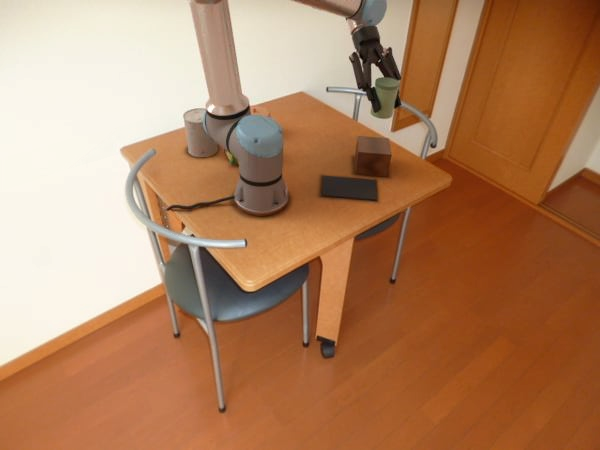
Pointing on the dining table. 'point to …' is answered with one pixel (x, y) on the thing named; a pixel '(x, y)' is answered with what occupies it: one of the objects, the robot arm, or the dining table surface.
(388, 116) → the green tin
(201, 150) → the grey cylinder
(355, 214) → the dining table surface
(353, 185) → the rubber mat
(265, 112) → the trinket box
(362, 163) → the walnut block
